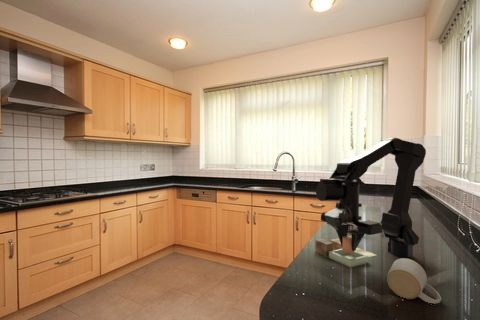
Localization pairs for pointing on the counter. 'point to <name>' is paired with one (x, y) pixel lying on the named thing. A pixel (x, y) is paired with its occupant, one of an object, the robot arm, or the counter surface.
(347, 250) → the reddish orange cube
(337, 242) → the light brown wooden block
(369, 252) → the board
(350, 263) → the tray
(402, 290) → the ceramic mug
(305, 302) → the counter surface
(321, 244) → the brown block
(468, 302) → the counter surface
